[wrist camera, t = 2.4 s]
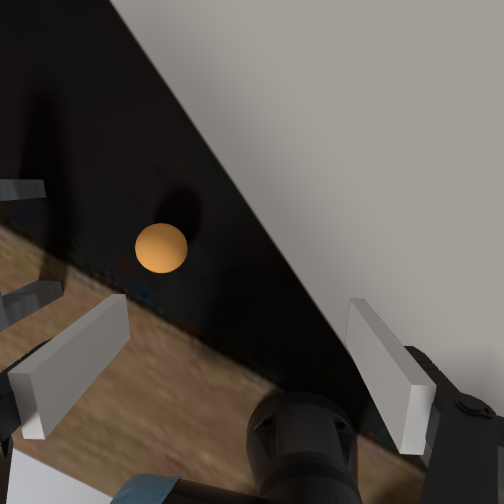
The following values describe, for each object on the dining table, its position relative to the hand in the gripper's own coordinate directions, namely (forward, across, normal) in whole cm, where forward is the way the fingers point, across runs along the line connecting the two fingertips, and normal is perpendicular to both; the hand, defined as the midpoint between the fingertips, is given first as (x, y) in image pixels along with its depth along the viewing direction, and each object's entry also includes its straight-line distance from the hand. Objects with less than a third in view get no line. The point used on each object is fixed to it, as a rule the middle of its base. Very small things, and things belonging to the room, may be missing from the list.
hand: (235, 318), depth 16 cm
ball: (+16, +10, 0) cm, 18 cm away
